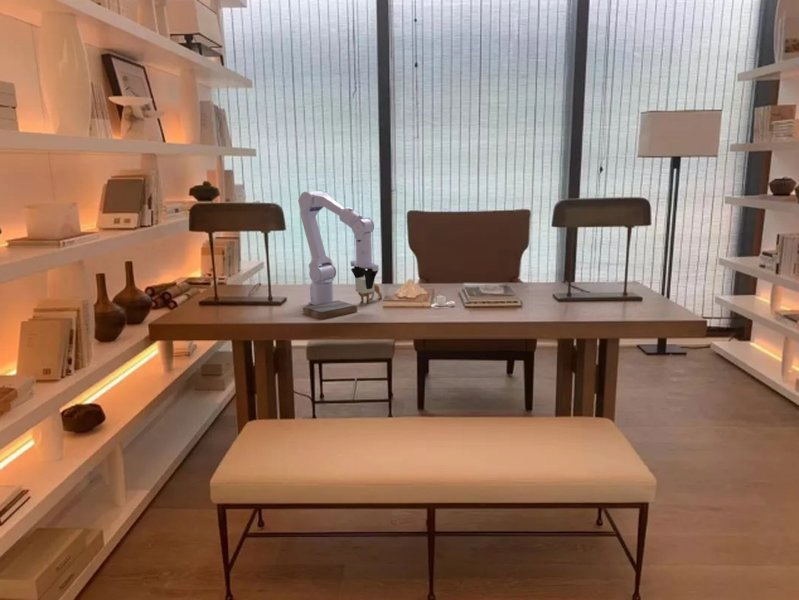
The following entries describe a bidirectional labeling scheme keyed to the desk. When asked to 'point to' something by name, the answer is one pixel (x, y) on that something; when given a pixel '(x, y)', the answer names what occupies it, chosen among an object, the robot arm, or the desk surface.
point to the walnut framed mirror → (329, 309)
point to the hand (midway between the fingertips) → (364, 287)
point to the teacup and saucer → (442, 302)
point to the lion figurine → (370, 293)
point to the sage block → (362, 285)
